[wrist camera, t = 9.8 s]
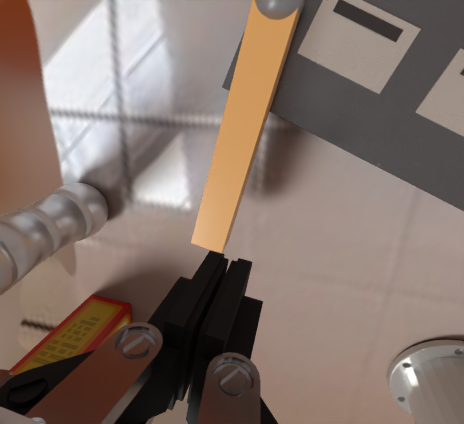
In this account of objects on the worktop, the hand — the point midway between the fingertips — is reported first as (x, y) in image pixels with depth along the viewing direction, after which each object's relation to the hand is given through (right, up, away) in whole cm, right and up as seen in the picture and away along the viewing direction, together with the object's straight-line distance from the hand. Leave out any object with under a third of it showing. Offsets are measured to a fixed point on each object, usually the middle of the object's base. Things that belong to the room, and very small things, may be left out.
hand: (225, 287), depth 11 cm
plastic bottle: (-18, +4, +26) cm, 32 cm away
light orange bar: (+1, +10, +13) cm, 17 cm away
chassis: (+14, +15, +14) cm, 24 cm away
